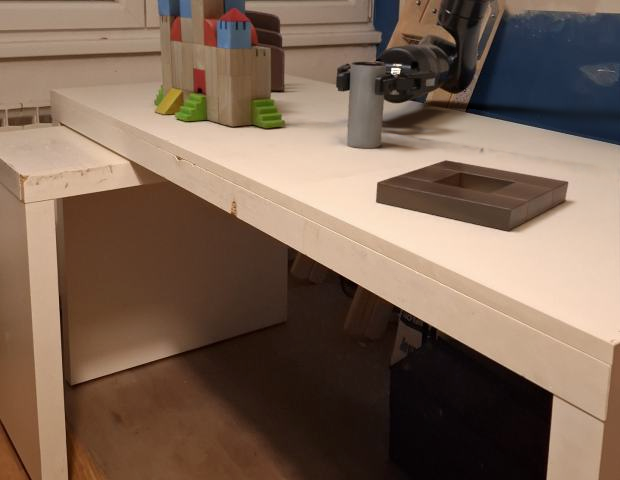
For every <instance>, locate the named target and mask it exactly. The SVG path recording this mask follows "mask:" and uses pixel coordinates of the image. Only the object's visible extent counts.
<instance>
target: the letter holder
mask: <svg viewBox="0 0 620 480" xmlns="http://www.w3.org/2000/svg"><path fill="white" fill-rule="evenodd" d="M245 16H246V17H247V18H248V19H249V20H251V23H252V25H253V27H254V29H255V31H256V34H257V39H258V44H257V46H258V47H265V48H270V49H271V92H282V93H283V92H284V91H285V59H286V57H285V55H286V54H285V50H284V49H283V35H282V34H281V20H280V17H279V16H278V15H276V14H273V13H268V12H263V11H256V10H248V9H245Z"/></svg>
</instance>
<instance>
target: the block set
mask: <svg viewBox="0 0 620 480" xmlns="http://www.w3.org/2000/svg"><path fill="white" fill-rule="evenodd" d="M157 10H158V11H157V12H158V19H159V20H158V21H159V36H160V37H159V39H160V41H159V42H160V56H161V57H160V59H161V78H162V80H161V81H162V84H161V85H160V89H158V94H156V98H155V99H154V100H153V103H154V105H156V107H155V109H154V110H153V111H154V112H155V113H158V114H160V115H165V116H166V115H174V117H175V119H177V120H180V121H184V122H193V121H194V122H197V121H205V120H207V121H210V122H214V123H217V124H221V125H224V126H229V127H240V126H249V125H250V126H251V125H252V126H257V127H260V128H263V129H270V128H279V127H285V125H286V121H285V119H282V113H280V112H279V107H278V106H277V105H275V99H273V98H272V97H271V96H272V95H271V94H272V91H271V49H270V48H265V47H258V46H257V44H258V39H257V34H256V31H255V29H254V27H253V25H252V23H251V20H249V19H248V18H247V17H246V16H245V10H246V0H157Z"/></svg>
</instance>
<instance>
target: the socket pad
mask: <svg viewBox="0 0 620 480" xmlns="http://www.w3.org/2000/svg"><path fill="white" fill-rule="evenodd" d="M568 187H569V181H566V180H562V179H561V180H560V179H555V178H550V177H544V176H538V175H533V174H527V173H520V172H516V171H509V170H504V169H498V168H492V167H487V166H481V165H475V164H470V163H464V162H458V161H453V160H447V159H445V160H442V161H438V162H436V163H433V164H429V165H426V166H424V167H420V168H418V169H414V170H411V171H408V172H405V173H402V174H399V175H396V176H395V175H394V176H393V177H389V178H387V179H383V180H380V181H377V182H376V193H375V196H376V197H375V202H376V203H381V204H385V205H389V206H393V207H397V208H398V207H399V208H402V209H406V210H407V209H408V210H411V211H417V212H420V213H425V214H429V215H434V216H439V217H444V218H448V219H453V220H457V221H461V222H466V223H470V224H475V225H480V226H484V227H489V228H493V229H496V230H502V231H507V232H509V231H510V230H513V229H514V228H516V227H518V226H520V225H522V224H523V223H526V222H527V221H529V220H531V219H533V218H535V217H537V216H539V215H541V214H543V213H545V212H546V211H548V210H550V209H552V208H554V207H556V206H558V205H560V204H561V203H563V202H565V201H566V198H567V193H568Z"/></svg>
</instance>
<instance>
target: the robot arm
mask: <svg viewBox="0 0 620 480" xmlns="http://www.w3.org/2000/svg"><path fill="white" fill-rule="evenodd" d="M490 1H491V0H440V3H439V6H438V10H437V14H436V19H437V22H438V24H439V25H440V27H441V28H442V29H444V31H446V32H447V33H448V34H449V35H450V36H451V37H452V38H453V40H454V42H452V41H450V40H448V39H446V38H443V37H441V36H439V35H436V34H427V35H425V36H424V35H423V37H422V38H421V39H420V40H419V41H418V43H417V44H405V45H399V46H392V47H389V48H386V49H385V50H384V51H382V52H381V53H380V54H379V55H378V56H377V57H376V59H375V60H374V62H377V63H384V64H386V75H382V76H377V77H376V80H375V95H384V101H386V102H388V103H389V104H403V103H406V102H409V101H412V100H415V99H418V98H421V97H423V96H425V95H426V94H428V93H432V92H434V91H436V90H438V89H440V90H442V91H444V92H447V93H449V94H453V95H458V94H461V93H462V92H464V91H465V90H467V88H469V86H470V85H471V84H472V82H473V80H474V79H475V75H476V71H477V66H478V55H479V43H480V42H479V41H480V35H481V29H482V24H483V20H484V18H485V15H486V12H487V10H488V7H489V4H490ZM350 70H351V64H350V63H344V64H342V65H340V66H338V67H337V68H336V71H337V72H336V79H335V80H336V81H335V88H337V91H338V92H343V93H344V92H348V91H349V90H350Z"/></svg>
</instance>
